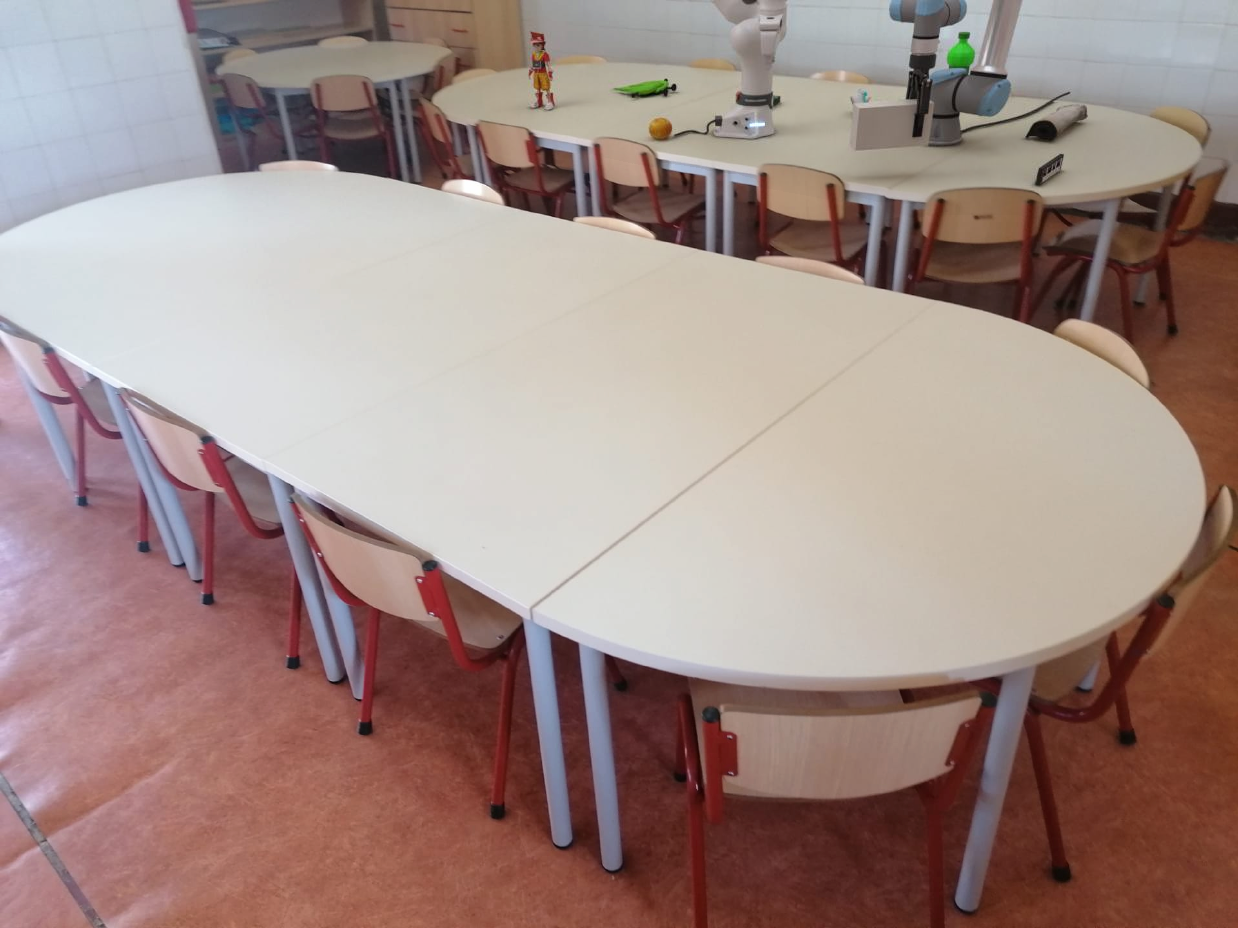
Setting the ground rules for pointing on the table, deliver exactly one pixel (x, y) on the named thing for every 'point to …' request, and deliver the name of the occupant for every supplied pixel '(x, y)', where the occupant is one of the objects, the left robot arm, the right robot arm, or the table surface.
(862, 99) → the anatomical model
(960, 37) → the plastic bottle
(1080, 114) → the rolled mat
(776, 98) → the disk drive
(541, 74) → the toy
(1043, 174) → the midi keyboard
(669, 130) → the fruit
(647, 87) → the toy
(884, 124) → the box
